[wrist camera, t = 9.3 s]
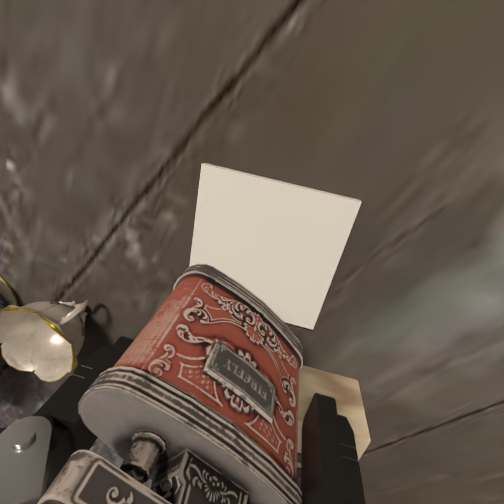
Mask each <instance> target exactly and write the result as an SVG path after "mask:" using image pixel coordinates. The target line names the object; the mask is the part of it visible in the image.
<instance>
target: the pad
mask: <svg viewBox="0 0 504 504" xmlns="http://www.w3.org/2000/svg"><path fill="white" fill-rule="evenodd" d="M361 203H362V202H361V200H358V199H353V198H349V197H345V196H341V195H337V194H333V193H328V192H324V191H320V190H316V189H312V188H307V187H303V186H299V185H295V184H291V183H286V182H282V181H278V180H274V179H270V178H266V177H261V176H257V175H253V174H249V173H245V172H240V171H236V170H232V169H228V168H224V167H220V166H215V165H211V164H207V163H202V165H201V174H200V182H199V190H198V199H197V207H196V216H195V224H194V232H193V241H192V249H191V258H190V266H192V265H196V264H207V265H210V266H213V267H215V268H216V269H218V270H219V271H221V272H223V273H224V274H226V275H227V276H229V277H231V278H232V279H234V280H236V281H237V282H239V283H240V284H241V285H243V286H244V287H245V288H247V289H248V290H249V291H251V292H252V293H253V294H254V295H256V296H257V297H258V298H260V299H261V300H262V301H263V302H265V303H266V304H267V305H268V306H269V307H270V308H271V309H272V310H273V311H274V312H275V313H276V314H277V315H278V316H279V317H280V318H281V319H282V320H283V321H284V322H286V323H290V324H293V325H297V326H301V327H304V328H308V329H312V330H313V328H314V326H315V323H316V321H317V318H318V315H319V313H320V310H321V308H322V305H323V302H324V300H325V297H326V294H327V292H328V289H329V287H330V284H331V281H332V279H333V276H334V273H335V271H336V268H337V266H338V263H339V260H340V258H341V255H342V253H343V250H344V247H345V245H346V242H347V239H348V237H349V234H350V232H351V229H352V226H353V224H354V221H355V218H356V216H357V213H358V211H359V208H360V205H361ZM190 266H189V267H190Z"/></svg>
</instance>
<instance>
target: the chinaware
mask: <svg viewBox="0 0 504 504" xmlns="http://www.w3.org/2000/svg"><path fill="white" fill-rule="evenodd" d="M89 304H90V301H89V300H86V301H84V302H83V303H80V304H77V305H76V304H75V301H73V302H60V301H59V302H55V301H39V302H34V303H30V304H27V305H25V306H22V307H19V306H18V303H17V298H16V296H15V293H14V291H13V290H12V288H11V286H10V285H9V284H8V282H7V281H6V280H5V279H4V278H3V277H2V276H1V275H0V343H2V344H1V345H0V346H1V354H2V357H3V359H4V360H5V361H6V363H7V364H8V365H9V366H11V367H13V368H15V369H17V370H19V371H28V372H33V371H34V370H35V372H34V373H35V374H36V375H37V376H38V378H39V379H40V380H42V381H45V382H48V383H53V382H56V381H59V380H61V379H62V378H63V377H64V376H66V375H67V374H68V373H71V372H73V371H74V369H75V368H76V367H77V365H78V360H77V355H78V353H79V352H80V350H81V348H82V346H83V343H84V339H85V327H84V326H85V324H84V322H85V316H86V315H87V313H86V312H84V310H85V308H86V306H87V305H89Z"/></svg>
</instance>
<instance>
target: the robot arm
mask: <svg viewBox="0 0 504 504" xmlns="http://www.w3.org/2000/svg"><path fill="white" fill-rule="evenodd" d="M133 341H134V339H131V338H127V337H124V336H122V337H120V338H119V339H118V340H117V341H116V342H115V344H114V345H113V346H112V347H108V346H103V347H101V348H100V349H98V350H96V351H95V352H93V353H91V354H90V355H89V356H88V357H87V358H86V360H85V361H84V362H83V363H82V364H81V366H79V367H78V368H77V369H76V370H75V371H74V372H73V374H72V376H70V377H69V378H68V379H67V380H66V381H65V382H64V383H63V384H62V385H61V387H60V388H59V389H58V390H57V391H56V392H55V393H54V394H53V395H52V396H51V397H50V398H49V399H48V401H47V402H46V403H45V404H44V405H43V406H42V407H41V408H40V409H39V410H38V411H37V412H36V413H35V414H34V415H32V416H30V417H26V418H23V419H20V420H18V421H16V422H14V423H13V424H11V425H10V426H9V427H5V428H0V504H37V503H38V502H39V501H40V499H41V498H42V496H43V495H44V493H45V492H46V491H47V489H48V488H49V486H50V485H51V483H52V482H53V481H54V479H55V478H56V476H57V475H58V474H59V472H60V471H61V469H62V468H63V466H64V465H65V464H66V462H67V461H68V459H69V458H70V456H71V455H72V454H73V453H75V452H76V451H78V450H88V451H89V450H90V448H91V447H92V445H93V444H94V442H95V440H96V439H97V436H96V435H95V434H94V433H92V432H91V431H90V430H89V429H88V428H87V426H86V425H85V424H84V423H83V422H82V419H81V417H80V415H79V413H78V403H79V401H80V400H81V398H82V396H83V395H84V393H85V392H86V391H87V390H88V388H89V387H90V386H91V385H92V384H93V382H94V381H95V380H96V379H97V377H98V376H99V375H100V374H101V373H103V372H104V371H106V370H107V369H109V368H113V367H114V365H115V364H116V363H117V361H118V360H119V359H120V358H121V356H122V355H123V354H124V353H125V351H126V350H127V349H128V347H129V346H130V345H131V344H132V342H133ZM301 492H302V504H365V498H364V492H363V485H362V479H361V473H360V467H359V463H358V455H357V450H356V443H355V436H354V431H353V429H352V427H351V425H350V423H349V421H348V419H347V417H345V416H342V415H338V414H337V406H336V400H335V398H333V397H330V396H326V395H323V394H319V393H315V394H314V396H313V398H312V400H311V403H310V405H309V407H308V409H307V411H306V414H305V416H304V419H303V424H302V448H301Z"/></svg>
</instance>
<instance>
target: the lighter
mask: <svg viewBox="0 0 504 504" xmlns="http://www.w3.org/2000/svg"><path fill="white" fill-rule="evenodd" d="M302 366H303V347H302V345H301V343H300V341H299V340H298V339H297V338H296V336H295V335H294V334H293V333H292V331H291V330H290V329H289V328H288V326H287V325H286V324H285V323H284V321H283V320H282V319H281V318H280V317H279V316H278V315H277V314H276V313H275V312H274V311H273V310H272V309H271V308H270V307H269V306H268V305H267V304H266V303H265V302H263V301H262V300H261V299H260V298H258V297H257V296H256V295H254V294H253V293H252V292H251V291H249V290H248V289H247V288H245V287H244V286H243V285H241V284H240V283H239V282H237V281H236V280H234V279H232V278H231V277H229V276H227V275H226V274H224V273H223V272H221V271H219V270H218V269H216V268H215V267H213V266H210V265H207V264H196V265H192V266H190V267H189V268H187V269H186V270H185V271H184V272H183V273H182V275H181V276H180V277H179V278H178V280H177V281H176V283H175V284H174V289H173V292H172V293H171V294H170V295H169V297H168V298H167V299H166V300H165V302H164V303H163V304H162V306H161V307H160V308H159V309H158V311H157V312H156V313H155V314H154V316H153V317H152V318H151V320H150V321H149V322H148V323H147V325H146V326H145V327H144V328H143V330H142V331H141V332H140V334H139V335H138V336H137V337H136V339H135V340H134V341H133V342H132V344H131V345H130V346H129V347H128V349H127V350H126V351H125V353H124V354H123V355H122V356H121V358H120V359H119V360H118V361H117V363H116V364H115V365H114V367H113V368H109V369H107V370H106V371H104V372H103V373H101V374H100V375H99V376H98V377H97V379H96V380H95V381H94V382H93V384H92V385H91V386H90V387H89V388H88V390H87V391H86V392H85V393H84V395H83V396H82V398H81V400H80V401H79V403H78V413H79V415H80V417H81V419H82V422H83V423H84V424H85V425H86V426H87V428H88V429H89V430H90V431H91V432H92V433H94V434H95V435H96V436H97V437H98V438H100V439H101V440H102V441H103V442H104V443H105V444H107V445H108V446H109V447H110V448H111V449H112V450H114V451H115V452H116V453H117V454H118V455H119V456H121V457H122V458H123V459H124V461H123V463H122V465H121V467H120V469H119V468H117V467H116V466H114V465H113V464H111V463H110V462H108V461H107V460H105V459H104V458H102V457H101V456H99V455H97V454H95V453H94V452H91V451H88V450H78V451H76V452H75V453H73V454H72V455H71V456H70V458H69V459H68V461H67V462H66V464H65V465H64V466H63V468H62V469H61V471H60V472H59V474H58V475H57V476H56V478H55V479H54V481H53V482H52V483H51V485H50V486H49V488H48V489H47V491H46V492H45V493H44V495H43V496H42V498H41V499H40V501H39V502H38V503H37V504H302V492H301V490H300V489H299V487H298V486H297V442H298V393H299V372H300V370H301V368H302ZM149 478H150V479H151V480H153V481H152V485H151V489H149V488H147V487H146V486H144V485H143V482H147V480H148V479H149Z"/></svg>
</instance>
